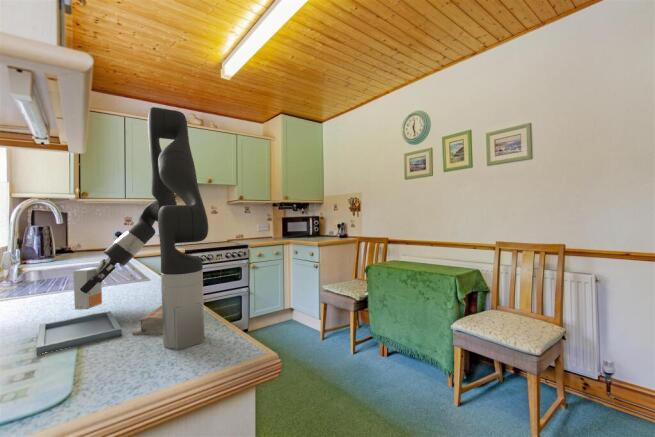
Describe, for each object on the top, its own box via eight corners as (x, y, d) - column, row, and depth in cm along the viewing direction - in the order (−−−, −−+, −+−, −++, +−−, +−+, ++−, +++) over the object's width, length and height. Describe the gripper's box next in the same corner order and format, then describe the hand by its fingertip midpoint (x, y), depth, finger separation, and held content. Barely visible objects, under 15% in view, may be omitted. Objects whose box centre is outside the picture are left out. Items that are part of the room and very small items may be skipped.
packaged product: (171, 316, 81) (131, 318, 80) (172, 334, 82) (132, 337, 81) (193, 297, 99) (161, 299, 98) (194, 312, 100) (161, 314, 98)
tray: (121, 335, 80) (121, 328, 80) (36, 355, 70) (36, 347, 70) (110, 316, 95) (110, 311, 95) (39, 330, 85) (39, 324, 85)
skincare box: (88, 309, 94) (86, 270, 94) (74, 310, 94) (72, 270, 94) (103, 303, 100) (101, 266, 100) (90, 304, 100) (88, 267, 100)
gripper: (112, 240, 107) (69, 279, 100) (118, 242, 96) (71, 286, 89) (130, 253, 111) (91, 292, 103) (138, 257, 100) (95, 300, 92)
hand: (82, 289), depth 96 cm, fingers closed on skincare box, 7 cm apart
